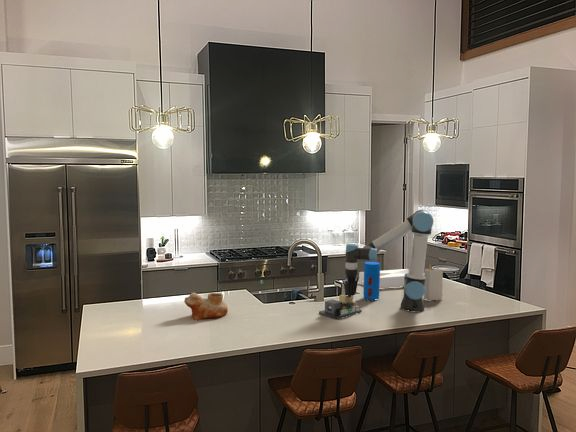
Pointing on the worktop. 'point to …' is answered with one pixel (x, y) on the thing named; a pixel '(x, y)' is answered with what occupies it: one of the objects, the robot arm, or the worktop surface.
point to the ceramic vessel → (206, 306)
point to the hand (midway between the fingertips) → (350, 305)
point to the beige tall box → (433, 283)
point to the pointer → (349, 305)
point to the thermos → (371, 280)
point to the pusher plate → (345, 299)
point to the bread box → (388, 278)
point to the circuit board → (338, 310)
